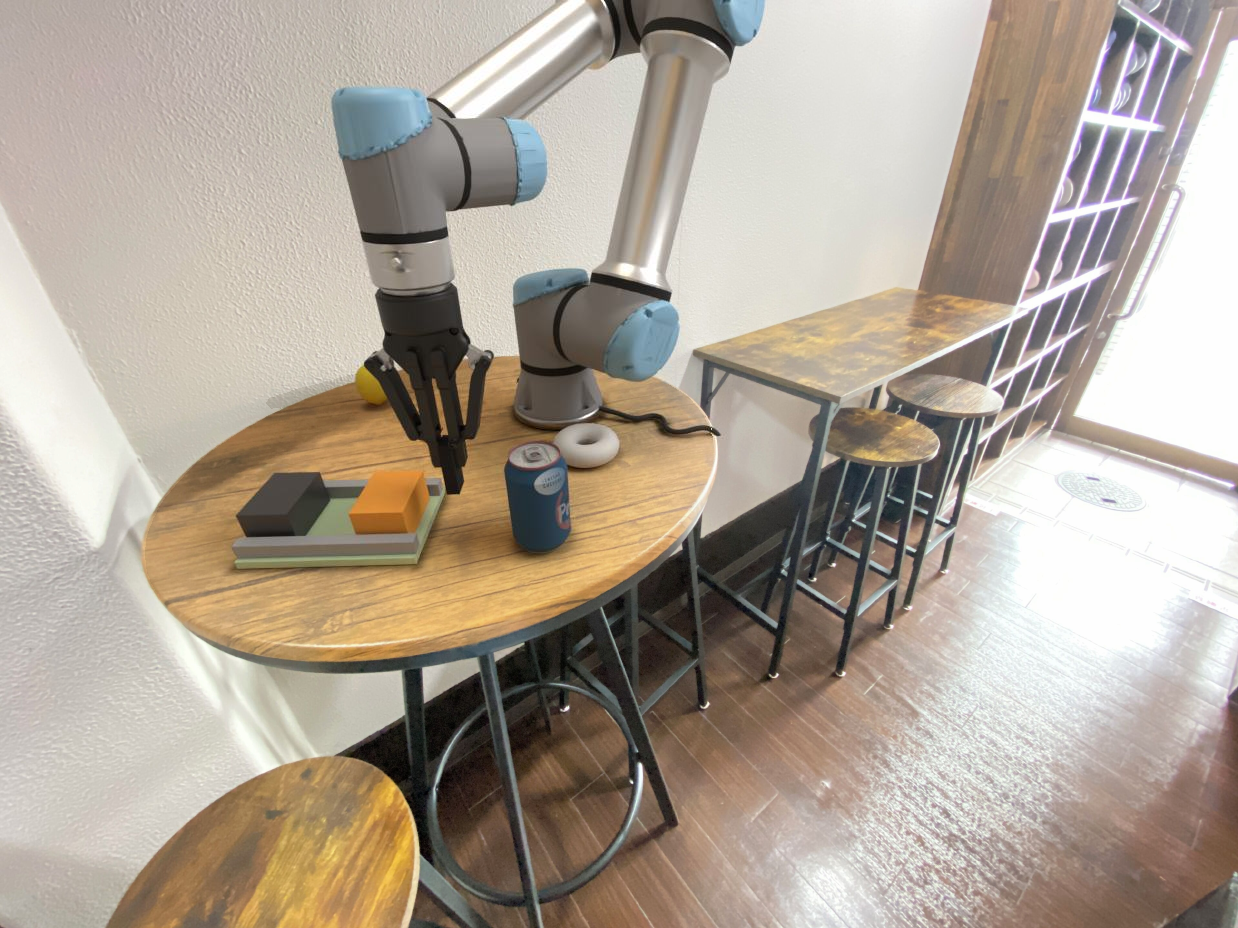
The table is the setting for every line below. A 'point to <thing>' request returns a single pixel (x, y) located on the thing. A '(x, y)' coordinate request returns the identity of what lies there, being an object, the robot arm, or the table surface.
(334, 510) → the board
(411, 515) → the matte orange brick
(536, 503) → the soda can
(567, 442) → the donut
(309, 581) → the table surface
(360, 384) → the lemon
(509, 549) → the table surface
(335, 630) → the table surface
